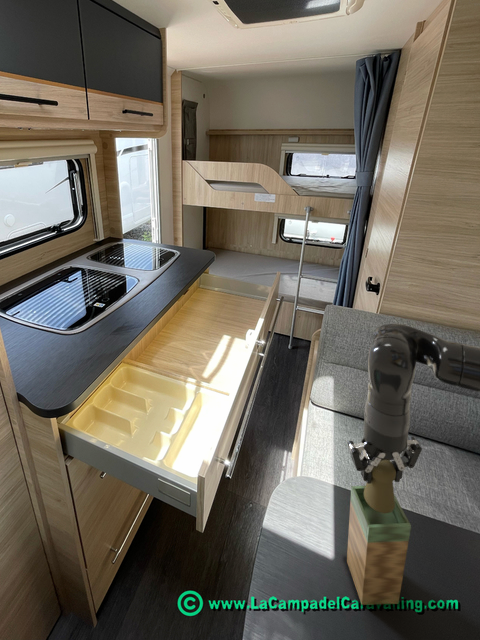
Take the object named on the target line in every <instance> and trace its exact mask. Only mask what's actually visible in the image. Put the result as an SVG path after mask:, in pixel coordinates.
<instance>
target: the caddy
mask: <svg viewBox="0 0 480 640" xmlns="http://www.w3.org/2000/svg"><path fill="white" fill-rule="evenodd" d="M365 486H366V485H354V486H353V485H352V486H351V487H350V500H349V501H350V502H349V503H350V505H349V518H348V519H349V520H348V536H347V537H348V538H347V553H346V563H347V565H348V569H349V572H350V574H351V578H352V580H353V584H354V586H355V589H356V593H357V596H358V598H359V601H360V604H361V605H362V606H365V605H398V604H399V603H400V596H401V590H402V584H403V577H404V572H405V568H406V567H405V566H406V561H407V560H406V559H407V554H408V548H409V542H410V536H411V530H412V524H411V523H410V521H409V519H408V517H407V515H406V514H405V512H404V509H403V508H402V506H401V504H400V501H399V500H398V499H397V496H396V495H395V494H394V499H395V508H394V509H393V511H392V512H390V513H381V512H378V511H376V510H374V509H373V508H372V507H370V506H369V504H368V503H367V502H366V500H365V498H364V489H365Z"/></svg>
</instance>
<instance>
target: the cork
mask: <svg viewBox="0 0 480 640" xmlns="http://www.w3.org/2000/svg"><path fill="white" fill-rule="evenodd" d="M371 472H372V477H371V484H367V482H366V483H365V485H364V486H365V489H364V498H365V500H366V502H367V503H368V504H369V506H370V507H372V508H373V509H374V510H376V511H378V512H381V513H390V512H392V511H393V509H394V508H395V499H394V495H395V491H394V482H395V481H394V479H395V477H396V470H395V467H394V465H393V464H392V460H382V461H380V462H379V464H378V466H377V467H374V468H373V469H372V471H371Z"/></svg>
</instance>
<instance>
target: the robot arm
mask: <svg viewBox="0 0 480 640" xmlns="http://www.w3.org/2000/svg"><path fill="white" fill-rule="evenodd" d="M367 357H368V358H367V369H368V370H367V371H368V382H367V392H366V394H367V396H366V399H365V403H364V404H365V405H364V413H363V415H364V416H363V417H364V419H363V437H362V439H361V440H360V442H356V443H355V442H354V441H353V440H348V441H347V447H348V452H349V454H350V458H351V461H352V463H353V465H354V467H355V469H356V471H357V472H360V475H361V477H362V479H363V481H364V482H366V483H367V484H371V477H372V472H371V471H372V469H373V468H374V467H377V466H378V464H379V462H380V461H382V460H390V461H391V462H392V464H393V465H394V467H395V470H396V477H395V479H394V481H393V482H395V483H400V480H401V479H402V478H403V474H404V471H405V470H406V468H407V467H408V468H409V469H413V468H415V466H416V464H417V461H418V459H419V458H420V455H421V452H422V450H423V448H422V446H421V445H420V443H419V442H418V441H417V439H416V438H415V437H414V436H409V430H410V429H409V428H410V422H411V411H410V410H411V408H410V407H411V401H412V400H411V399H412V387H413V384H414V378H415V374H416V367H417V364H419V365H422V366H425V367H426V368H428V369H429V370H430V371H431V373H432V375H433V376H434V378H435V379H436V380H438V382H439V383H440V382H441V383H443V384H445V385H449V386H452V387H456V388H460V389H463V390H467V391H472V392H476V393H478V394H480V346H476V345H475V346H474V345H469V344H466V343H465V344H464V343H459V342H453V341H449V340H446V339H444V338H441V337H439V336H436V335H435V334H432V333H429V332H426V331H424V330H421V329H418V328H415V327H412V326H409V325H407V324H402V323H383V324H381V325H379V326H377V327H376V328H375V329H374V330H373V332H372V335H371V340H370V345H369V350H368V356H367ZM362 452H363V453H362ZM362 454H363V455H362ZM360 457H361V458H360Z"/></svg>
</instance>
